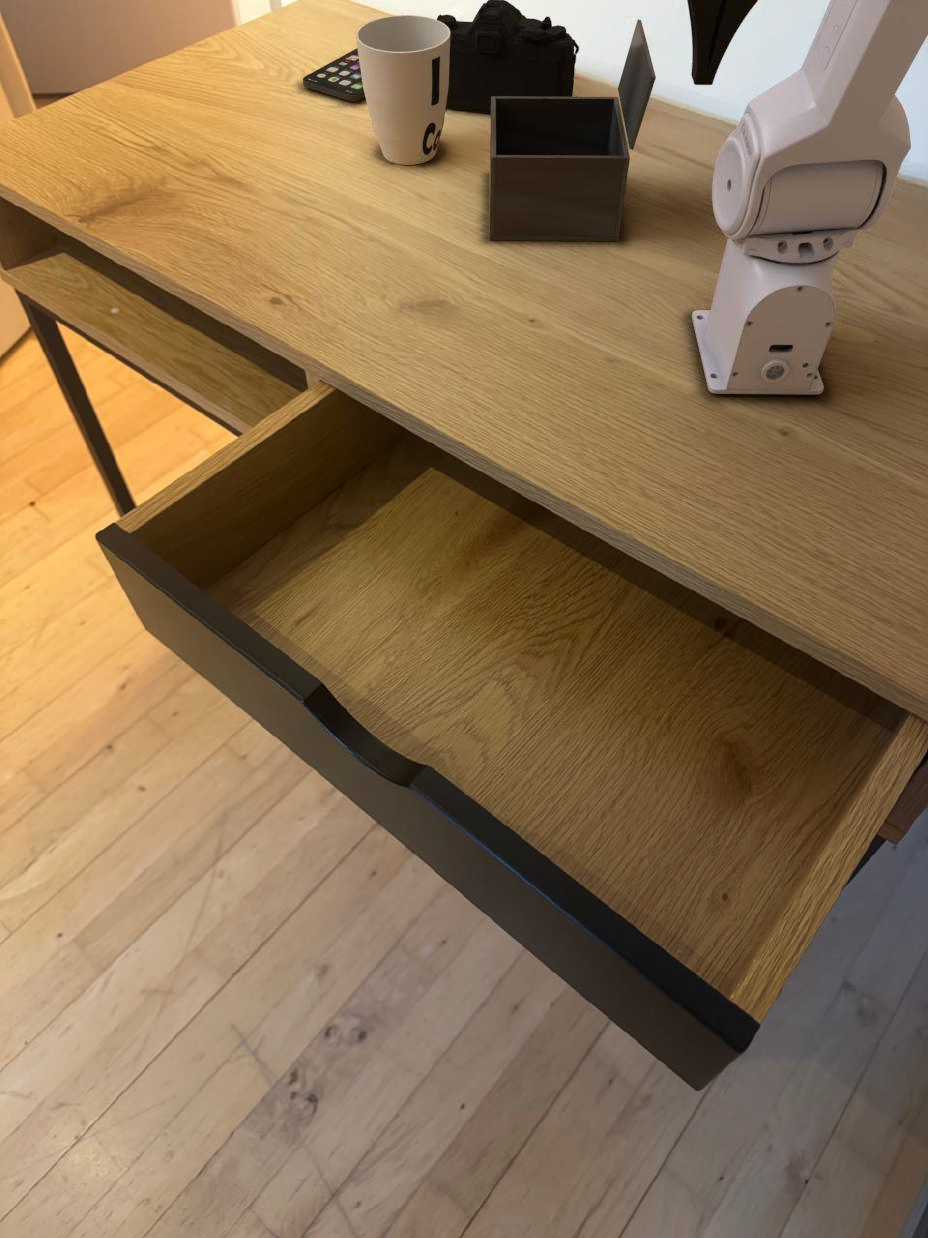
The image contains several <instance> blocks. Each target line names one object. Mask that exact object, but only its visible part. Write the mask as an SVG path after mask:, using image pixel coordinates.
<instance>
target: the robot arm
mask: <svg viewBox="0 0 928 1238" xmlns="http://www.w3.org/2000/svg"><path fill="white" fill-rule="evenodd" d="M686 1H687V7H688V8H687V9H688V14H689V20H690V21H689V23H690V30H691V32H690V33H691V47H692V50H691V51H692V53H691V54H692V55H691V56H692V57H691V58H692V59H691V60H692V61H691V72H690V75H691V80H692V82H693V85H695V86H712V85H713V84H714V81H715V78H716V75H717V73H718V69H719V67H720V65H721V62H722V60H723V58H724V56H725V54H726V52H727V50H728V48H729V46H730V44H731V42H732V40H733V38H734V36H735V35H736V33H737V31H738V30H739V28H740V27H741V25H742V23H744V20H745V19H746V18H747V16H748V15H749V14H750V12H751V10H752V9H753V8H754V7H755V6H756V5H757V3H758V1H759V0H686ZM927 37H928V0H829V3H828V5H827V8H826V10H825V12H824V15H823V17H822V19H821V21H820V23H819V26H818V29H817V30H816V33H815V34H814V38H813V40H812V42H811V45H810V46H809V49H808V51H807V54H806V56H805V58H804V60H803V62H802V66H801V67H800V68H799V69H798V70H797V71H795V72H794V73H793V74H791V75H789V76H788V77H786V78H785V79H783V80H781V81H780V82H778V83H776V84H775V85H773V86H772V87H770V88H769V89H766V90H765V91H764V92H762V93H760V94H759V95H757V96H755V97H754V98H752V99H751V100H750V101H749V102H748V103H747V105H746V107H745V108H744V113H743V114H742V116H741V119H740V120H739V123H738V124H737V126H736V128H735V129H734V130H733V131H732V132H731V133H729V134H728V137H727V138H726V140H725V142H723V144H722V145H721V147H720V149H719V150H718V154H717V157H716V159H715V163H714V166H713V167H714V168H713V174H712V184H711V202H712V210H713V216H714V219H715V222H716V225H717V226H718V228H719V229H720V230H721V231H722V233H723V235H724V236H725V237H726V238H727V240H726V244H725V248H724V252H723V256H722V261H721V264H720V269H719V272H718V276H717V281H716V285H715V289H714V293H713V296H712V297H713V298H712V301H711V306H710V309H696V310H694V311H693V312H692V314H691V321H692V325H693V329H694V333H695V337H696V343H697V347H698V351H699V356H700V359H701V364H702V369H703V372H704V378H705V381H706V386H707V390H708V392H710V393H711V394H717V395H809V396H810V395H812V396H813V395H814V396H818V395H821V394H822V393H823V391H824V389H825V386H824V382H823V380H822V377H821V374H820V372H819V366H820V364H821V361H822V359H823V356H824V353H825V351H826V348H827V345H828V342H829V340H830V337H831V334H832V332H833V329H834V326H835V323H836V319H837V305H836V300H835V297H834V292H833V273H834V268H835V266H836V263H837V259H838V257H839V254H840V251H841V250H844V249H849V248H852V247H853V245H854V243H855V239H856V237H857V234H858V231H863V230H868V229H869V228H871V227H872V226H874V225H875V224H876V223H877V222H878V220H879V219H880V218H881V217H882V215H883V213H884V212H885V210H886V208H887V207H888V205H889V204H890V201H891V199H892V196H893V194H894V191H895V188H896V185H897V184H896V183H897V179H898V174H899V172H900V169H901V166H902V164H903V162H904V161H905V158H906V157H907V155H908V154H909V152H910V151H911V148H912V142H911V132H910V123H909V120H908V116H907V114H906V111H905V109H904V107H903V105H902V103H901V101H900V100H899V98H898V96H897V95H896V93H897V91H898V89H899V88H900V86H901V84H902V82H903V81H904V78H905V77H906V75H907V74H908V72H909V70H910V68H911V67H912V64H913V62H914V61H915V59H916V57H917V56H918V53H919V52H920V50H921V48H922V46H923V45H924V43H925V41H926V39H927Z"/></svg>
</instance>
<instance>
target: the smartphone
mask: <svg viewBox="0 0 928 1238" xmlns="http://www.w3.org/2000/svg"><path fill="white" fill-rule="evenodd" d="M302 85H303V86H304V87H305V88H306V89H307V88H308V89H310V90H314V91H317V92H320V93H322V94H323V93H324V94H326V95H329V96H330V95H331V96H334V97H336V98H339V99H343V100H346V101H351V102H356V101H357V102H358V101H360V100H362V99H364V98H366V97H365V93H364V89H363V83H362V76H361V69H360V62H359V55H358V48H357V47H356V48H355V49H352V50H351V51H349V52H347V53H345V54H344V55H342V56H340V57H338V58H336V59H334V60H333V61H330V62H329V63H327V64H325V65H323V66H322V67H320V68H318V69H316V70H314V71H312V72H310V73H308V74H307V75H305V76H303V77H302Z"/></svg>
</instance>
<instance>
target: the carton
mask: <svg viewBox="0 0 928 1238" xmlns="http://www.w3.org/2000/svg"><path fill="white" fill-rule="evenodd" d="M489 129H490V130H489V131H490V133H489V134H490V135H489V137H490V138H489V198H488V199H489V201H488V202H489V203H488V204H489V205H488V206H489V208H488V209H489V216H488V217H489V219H488V220H489V222H488V223H489V225H488V227H489V229H488V230H489V231H488V232H489V233H488V235H489V237H488V239H489V241H521V242H522V241H523V242H524V241H525V242H526V241H529V242H530V241H531V242H532V241H533V242H534V241H535V242H537V241H539V242H542V241H543V242H544V241H545V242H547V241H548V242H554V241H555V242H619V238H620V233H621V232H620V231H621V225H622V219H623V217H622V216H623V209H624V202H625V197H626V196H625V195H626V190H627V189H626V188H627V182H628V174H629V168H630V161H631V157H630V152H629V145H628V140H627V135H626V129H625V124H624V119H623V114H622V109H621V104H620V98H619V96H572V97H539V96H491V114H490V127H489Z"/></svg>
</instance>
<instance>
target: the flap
mask: <svg viewBox="0 0 928 1238" xmlns="http://www.w3.org/2000/svg"><path fill="white" fill-rule="evenodd" d="M654 68H655V67H654V65H653V61H652V57H651V54H650V49H649V45H648V41H647V37H646V33H645V29H644V26H643V22H642V19H637V21H636V23H635V28H634V31H633V35H632V38H631V41H630V45H629V48H628V52H627V55H626V59H625V62H624V65H623V69H622V72H621V76H620V79H619V83H618V86H617V91H618V98H619V103H620V108H621V114H622V119H623V124H624V129H625V134H626V139H627V144H628V149H629V150H634V148H635V145H636V142H637V138H638V136H639V132H640V129H641V127H642V123H643V120H644V117H645V113H646V110H647V107H648V104H649V101H650V97H651V95H652V91H653V88H654V85H655V82H656V78H657V76H656V72H655V69H654Z"/></svg>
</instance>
